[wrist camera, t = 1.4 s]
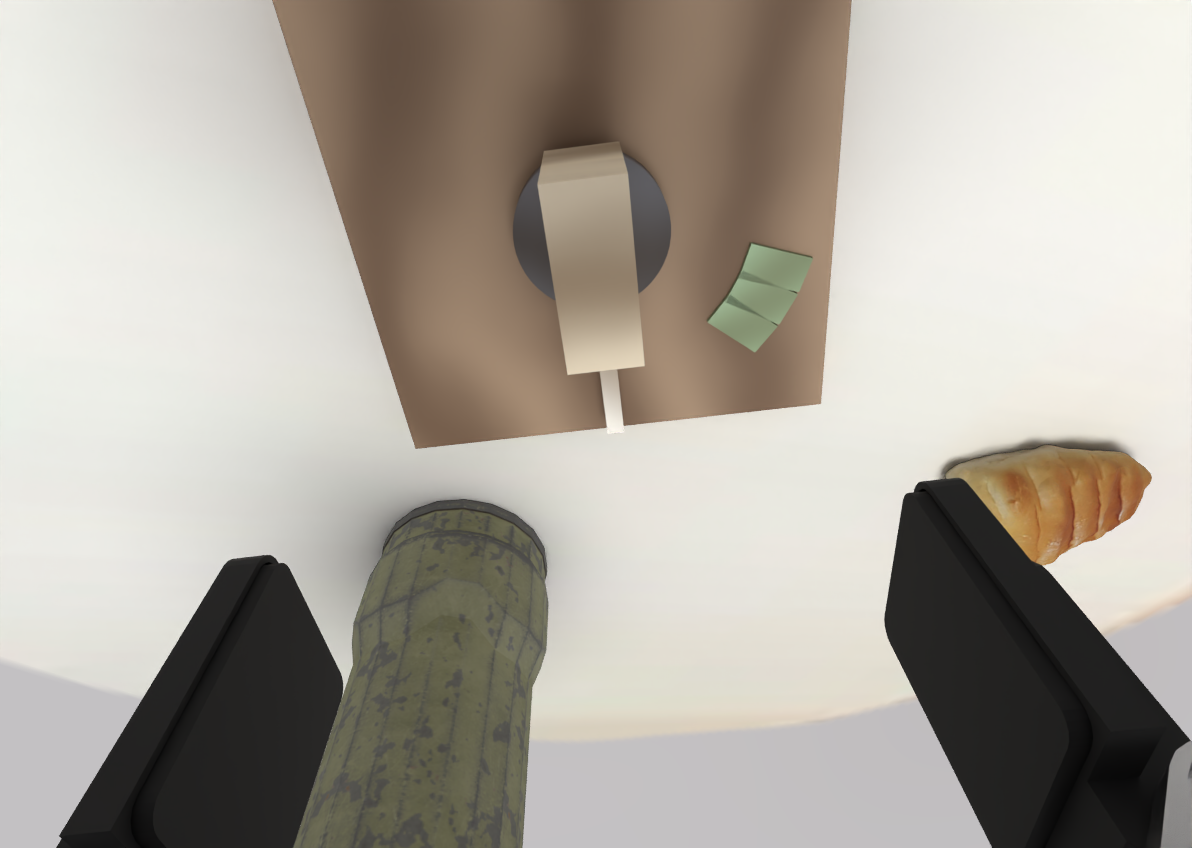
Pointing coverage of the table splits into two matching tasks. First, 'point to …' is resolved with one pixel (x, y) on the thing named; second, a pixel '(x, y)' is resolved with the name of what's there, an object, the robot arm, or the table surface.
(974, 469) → the pastry
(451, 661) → the thermos
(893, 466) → the table surface
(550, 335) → the wooden board
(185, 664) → the robot arm
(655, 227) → the knob
